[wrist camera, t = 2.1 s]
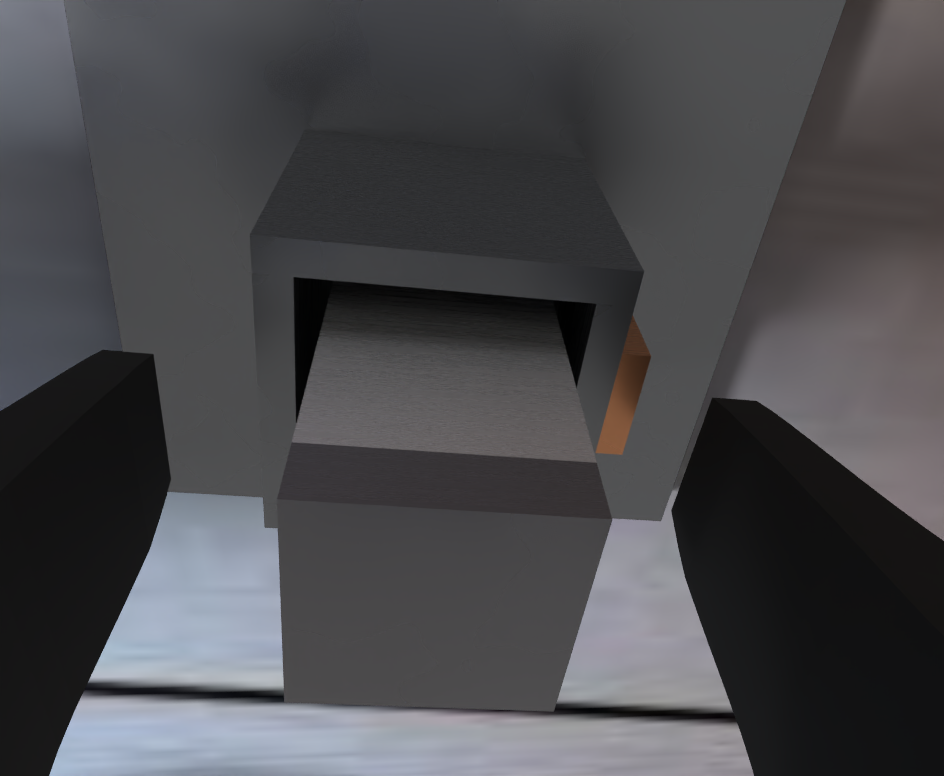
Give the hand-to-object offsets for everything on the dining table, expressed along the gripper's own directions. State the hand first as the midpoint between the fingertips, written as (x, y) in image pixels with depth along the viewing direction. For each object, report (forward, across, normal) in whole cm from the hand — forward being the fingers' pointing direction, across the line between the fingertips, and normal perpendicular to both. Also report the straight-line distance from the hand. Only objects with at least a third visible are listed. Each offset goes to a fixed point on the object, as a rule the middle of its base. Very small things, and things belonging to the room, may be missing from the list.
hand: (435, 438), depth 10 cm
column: (+5, 0, 0) cm, 5 cm away
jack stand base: (+6, 0, 0) cm, 6 cm away
